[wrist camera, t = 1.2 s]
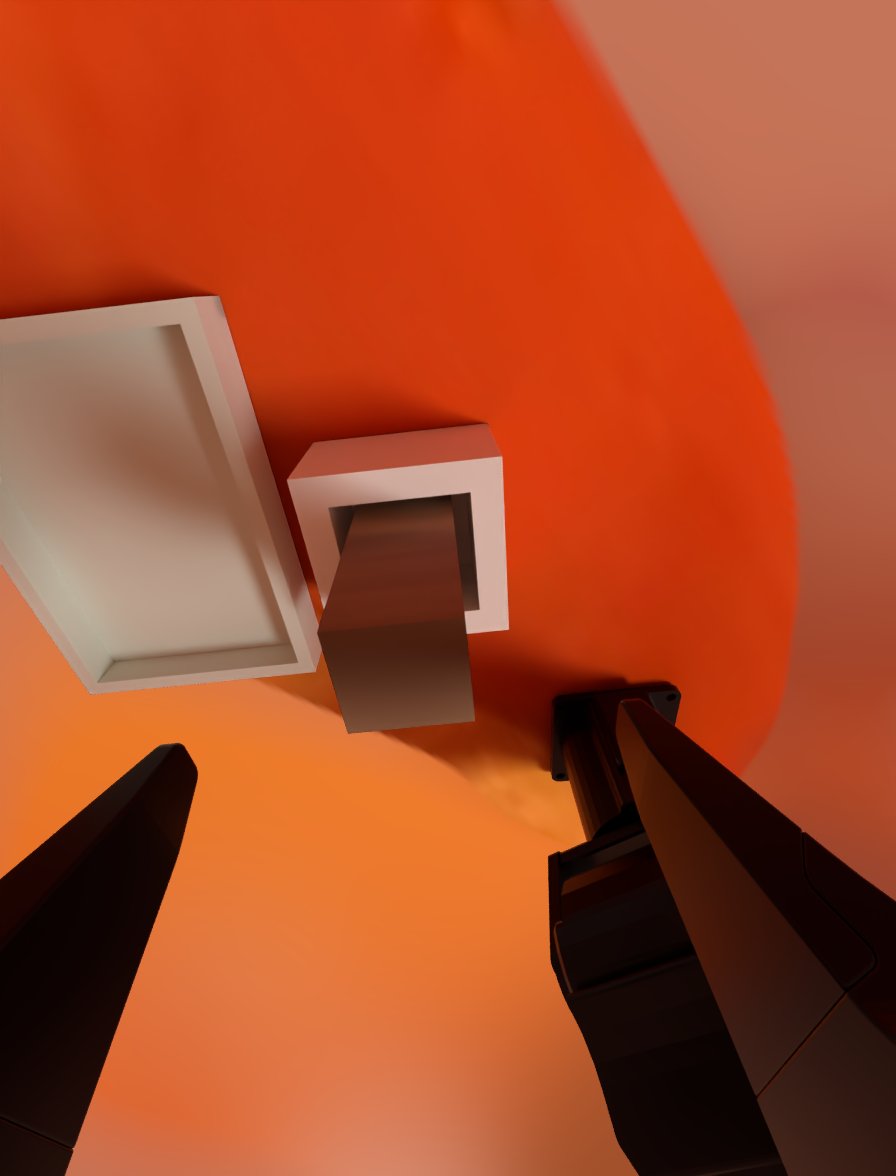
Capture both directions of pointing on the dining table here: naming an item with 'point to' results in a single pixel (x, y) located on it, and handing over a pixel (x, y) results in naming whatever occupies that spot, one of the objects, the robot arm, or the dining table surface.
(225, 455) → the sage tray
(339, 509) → the peg holder
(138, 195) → the dining table surface
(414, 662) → the walnut peg
